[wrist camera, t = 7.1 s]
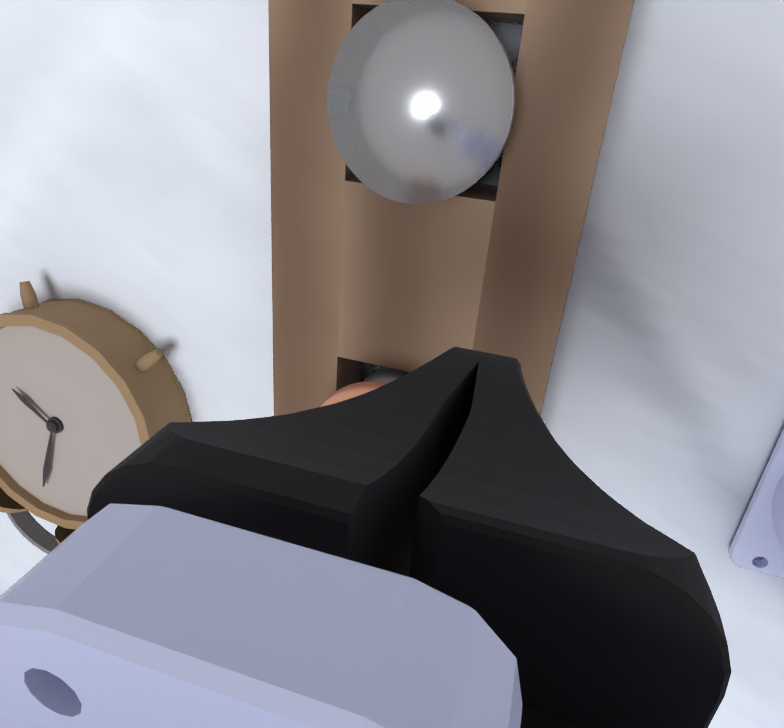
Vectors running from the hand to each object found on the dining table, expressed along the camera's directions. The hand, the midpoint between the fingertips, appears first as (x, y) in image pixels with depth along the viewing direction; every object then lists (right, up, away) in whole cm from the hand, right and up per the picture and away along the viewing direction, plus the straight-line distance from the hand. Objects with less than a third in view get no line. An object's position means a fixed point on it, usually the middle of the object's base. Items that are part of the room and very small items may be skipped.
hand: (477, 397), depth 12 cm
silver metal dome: (0, +9, +7) cm, 12 cm away
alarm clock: (-17, -2, +20) cm, 26 cm away
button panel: (0, +4, +10) cm, 11 cm away
